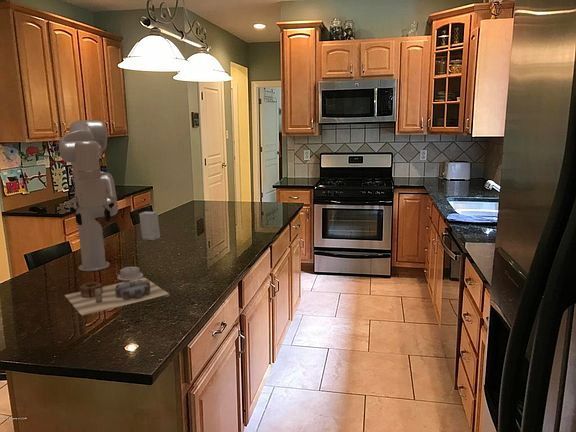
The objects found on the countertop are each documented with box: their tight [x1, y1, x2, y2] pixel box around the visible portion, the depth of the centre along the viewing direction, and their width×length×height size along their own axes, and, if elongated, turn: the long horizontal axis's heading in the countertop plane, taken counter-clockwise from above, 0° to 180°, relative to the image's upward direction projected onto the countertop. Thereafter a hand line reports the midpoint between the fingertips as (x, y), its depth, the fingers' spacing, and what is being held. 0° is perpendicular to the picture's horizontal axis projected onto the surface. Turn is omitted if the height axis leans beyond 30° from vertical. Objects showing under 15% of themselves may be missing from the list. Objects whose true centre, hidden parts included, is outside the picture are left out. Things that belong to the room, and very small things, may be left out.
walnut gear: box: [79, 281, 103, 298], centre depth 168 cm, size 7×7×4 cm
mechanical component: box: [117, 266, 144, 282], centre depth 188 cm, size 10×4×10 cm
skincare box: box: [138, 210, 161, 241], centre depth 252 cm, size 8×6×15 cm
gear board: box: [64, 277, 171, 319], centre depth 168 cm, size 24×30×6 cm
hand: (93, 222), depth 169 cm, fingers open, 9 cm apart
